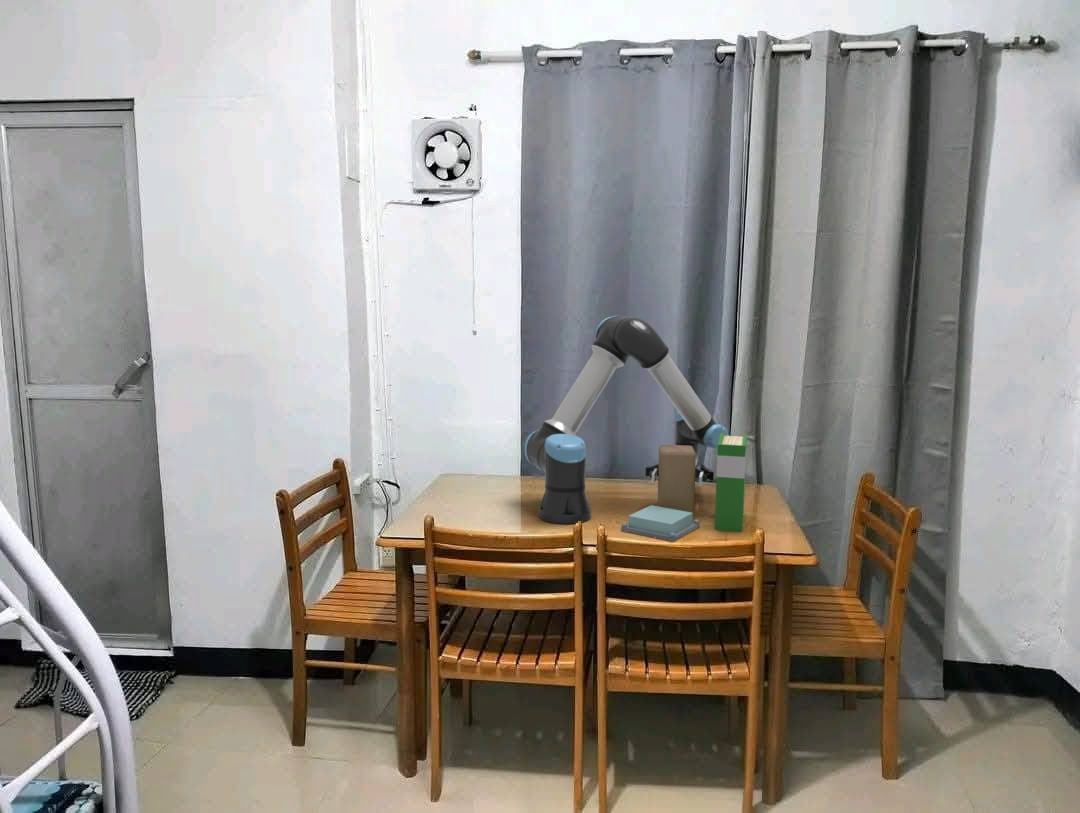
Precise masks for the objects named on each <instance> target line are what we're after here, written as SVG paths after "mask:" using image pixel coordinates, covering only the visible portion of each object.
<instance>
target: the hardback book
mask: <svg viewBox="0 0 1080 813" xmlns="http://www.w3.org/2000/svg"><path fill="white" fill-rule="evenodd" d="M747 440H748V433H743V436H737V435H728V436H724V433H721V434H720V438H719V442H718V449H717V452H716V479H715V480H716V481H715V505H714V507H715V509H714V511H715V512H714V531H715V530H716V531H728V532H729V531H730V532H740V533H741V532H743V525H744V515H743V514H744V512H745V490H746V488H745V487H746V486H745V485H746V469H747V468H746V465H747V463H746V462H747Z"/></svg>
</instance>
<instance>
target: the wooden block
mask: <svg viewBox="0 0 1080 813" xmlns="http://www.w3.org/2000/svg"><path fill="white" fill-rule="evenodd" d="M695 463H696V454H695V452H694V449H693V447H692V446H688V445H675V444H672V445H671V444H662V445H660V446H659V447H658V464H659V471H658V476H657V478H658V479H657V481H658V482H657V483H658V484H657V506H659V507H664V508H669V509H675V510H680V511H686V512H691V513H693V517H694V516H695V491H696V490H695V488H696V487H695V486H696V477H695Z"/></svg>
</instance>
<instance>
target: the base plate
mask: <svg viewBox="0 0 1080 813" xmlns="http://www.w3.org/2000/svg"><path fill="white" fill-rule="evenodd" d="M700 525H701V522H700V520H699V519H694V516H693V513H691V512H686V511H680V510H675V509H669V508H664V507H659V506H658V505H652V504H651V505H649V506H647V507H645V508H642V509H640V510H638V511H636V512H634V513H632V514H629V515H628V523H626V522H623V523H621V526H620V531H621V532H624V531H627V532H626V533H629V532H631V533H630V534H633V533H635V535H638V534H640V535H639V536H643V535H645V536H644V537H648V536H650V537H649V538H652V537H656V538H655V539H657V538H659V540H661V541H667V540H669V541H668V542H671V541H675V542H677V541H678V540H679V539H678V538H680V537H682V536H683V537H685V536H686V535H685V534H687V533H688V534H690V533H692V532H693V530H694V531H695V530H697V529H699V528H701V526H700ZM698 527H699V528H698ZM696 528H697V529H696ZM691 531H692V532H691ZM689 532H690V533H689ZM688 534H687V535H688ZM684 535H685V536H684ZM683 537H682V538H683ZM677 539H678V540H677ZM680 539H681V538H680Z"/></svg>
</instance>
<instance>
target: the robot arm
mask: <svg viewBox="0 0 1080 813" xmlns="http://www.w3.org/2000/svg"><path fill="white" fill-rule="evenodd" d="M594 336H595V337H594V338H595V339H594V342H593V343H592V344H591V350H592V354H591V356H590V357H589V359H588V361H587V363H586V364H585V365H584V366H583V369H582V370H581V371H580V373H579V375H578V376H577V378H576V380H575V382H573V384H572V386H571V388H570V389H569V391H568V393H567V395H566V396H565V397H564V399H563V401H562V402H561V403H560V405H559V407H558V409H557V410H556V412H555V413H554V414H553V416H552V418H551V419H546V420H544V421H543V423H542V425H541V426H540V427H539V429H537V430H535V431H533V432H532V433H530V434H529V435H528V436H527V438H526V440H525V443H524V455H525V458H526V460H527V461H528V462H529V463H530V464H531V466H532V467H533V468H535V469H537V470H539V471H541V472H542V473H544V488H545V489H544V493H543V496H542V499H541V502H540V505H539V508H538V509H539V510H538V516H539V519H541V520H542V521H544V522H548V523H552V524H560V525H562V524H563V525H570V524H576V523H575V522H578V521H583V522H582V523H584V522H587V521H589V520H590V519H591V517H592V510H591V509H592V508H591V506H590V503H589V499H588V496H587V493H586V463H587V462H586V461H587V460H586V459H587V458H586V457H587V450H586V442H585V441H584V439H583V438H581V437H580V436H577V434H576V433H577V432H578V430H579V429H580V427H581V426H582V424H583V423H584V421H585V420H586V417H587V416H588V414H589V413H590V411H591V410H592V408H593V406H595V405H594V404H595V403H596V402H597V400H598V398H599V397H600V395H601V393H602V392H603V391H604V389H605V387H606V386H607V384H608V382H609V381H610V380H611V378H612V376H613V374H615V372H616V369H619V368H622V367H624V366H625V365H626V363H627V361H628V360H629V358H630V357H631V358H632V359H633V360H634V361H635V362H637V363H638V364H639V365H640V367H641V368H642V369H643V370H647V371H648V372H649V373H650V375H651V376H652V378H653V379H654V380H655V382H656V383H657V384H658V386H659V387H660V389H661V390H662V392H663V393H664V394H665V395H666V397H667V399H668V400H669V401H670V402H671V404H672V406H673V407H674V408H675V409H676V411H677V412H676V416H675V417H676V419H675V442H674V443H675V444H674V445H688V446H692V447H693V449H694V452H695V454H696V463H695V479H698V487H703V486H702V485H703V482H704V483H705V482H707V481H708V480H709V481H714V479H715V477H714V476H715V471H713V470H711V469H709V468H708V467H706V466H705V464H701V465H699V466H698V467H697V464H698V463H699V461H700V452H699V446H700V445H702V446H704V447H706V448H710V449H714V450H715V449H718V442H719V438H720V434H721V433H724V436H729V434H728V430H727V428H726V427H725V426H723V425H721V424H719V423H717V422H716V421H715V419H714V418H713V416H712V415H711V414H710V412H709V411H708V410H707V408H706V407H705V405H704V404H703V402H702V400H700V397H699V396H698V395H697V393H695V391H694V389H693V387H692V386H691V385H690V383H689V382H688V381H687V379H686V378H685V376H684V375H683V373H682V372H681V370H680V369H679V368H678V366H677V365H676V363H675V362H674V360H673V359H672V357H671V356H670V348H669V347H668V346H667V344H666V343H665V341H664V340H663V339H662V337H661V336H660V335H659V333H658V332H657V331H656V330H655V329H654V327H653V326H652V325H651V324H650V323H648V322H647V321H646V320H644V319H642V318H640V317H633V316H624V315H614V316H609V317H606V318H605V319H603V320H602V321H601V322H600V323H598V325H597V327H596V328H595V333H594ZM658 471H659V463H657V464H653V465H650V466H646V467H645V475H644V476H645V477H649V479H650V480H651V483H652V484H655V482H656V481H657V480H658V479H657V478H658Z"/></svg>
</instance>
